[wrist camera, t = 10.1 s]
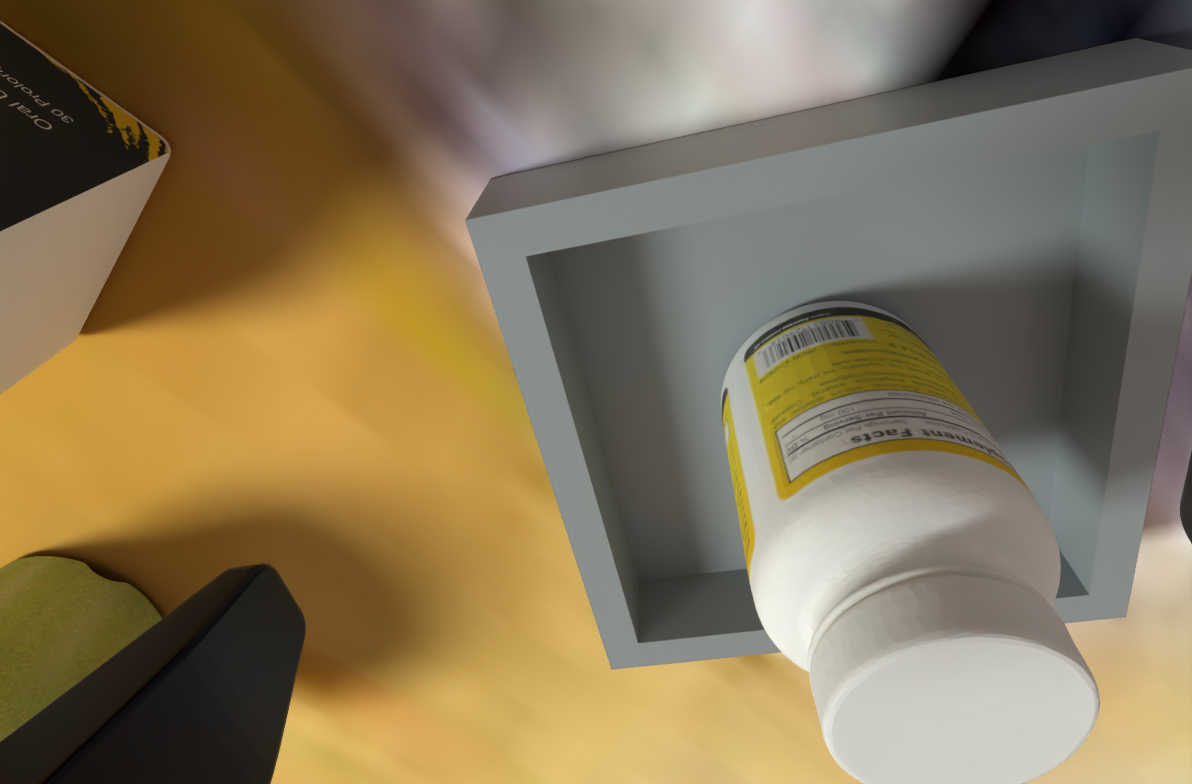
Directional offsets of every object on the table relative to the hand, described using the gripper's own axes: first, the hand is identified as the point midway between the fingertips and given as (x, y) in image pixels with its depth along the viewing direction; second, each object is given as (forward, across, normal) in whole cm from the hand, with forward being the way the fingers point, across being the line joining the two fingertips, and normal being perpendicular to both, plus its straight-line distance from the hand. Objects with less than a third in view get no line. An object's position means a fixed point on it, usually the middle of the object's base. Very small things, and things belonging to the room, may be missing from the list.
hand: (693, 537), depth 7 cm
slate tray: (+12, -3, +6) cm, 14 cm away
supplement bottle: (+12, -3, +6) cm, 13 cm away
